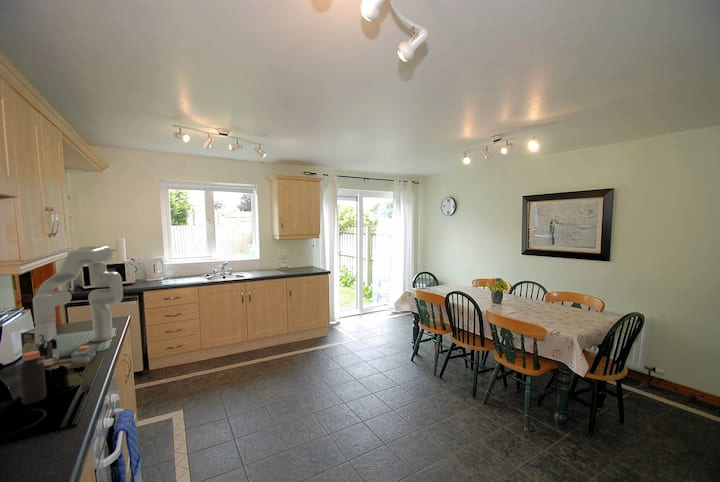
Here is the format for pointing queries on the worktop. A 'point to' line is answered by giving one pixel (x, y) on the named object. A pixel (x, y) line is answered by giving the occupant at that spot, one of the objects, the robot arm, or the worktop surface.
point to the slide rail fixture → (74, 359)
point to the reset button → (83, 348)
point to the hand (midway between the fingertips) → (48, 352)
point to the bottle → (32, 378)
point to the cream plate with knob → (50, 355)
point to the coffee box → (28, 341)
